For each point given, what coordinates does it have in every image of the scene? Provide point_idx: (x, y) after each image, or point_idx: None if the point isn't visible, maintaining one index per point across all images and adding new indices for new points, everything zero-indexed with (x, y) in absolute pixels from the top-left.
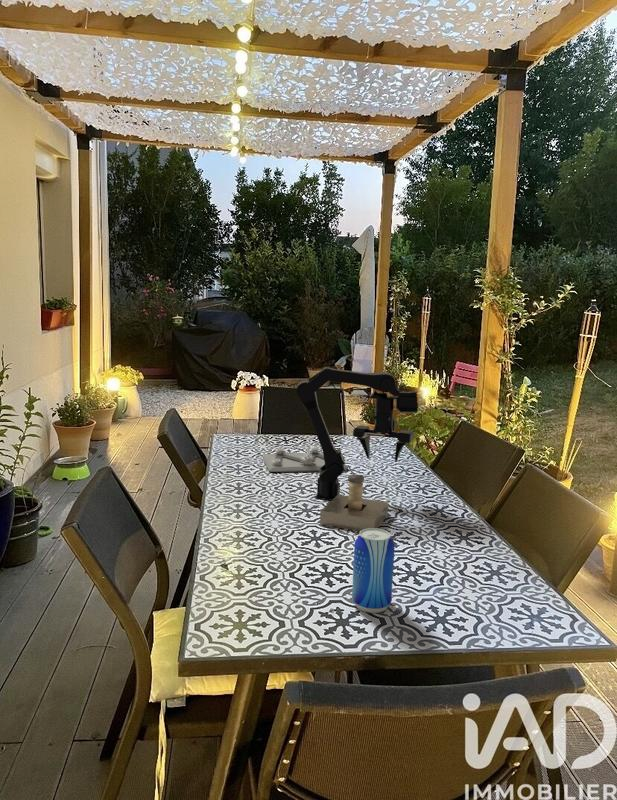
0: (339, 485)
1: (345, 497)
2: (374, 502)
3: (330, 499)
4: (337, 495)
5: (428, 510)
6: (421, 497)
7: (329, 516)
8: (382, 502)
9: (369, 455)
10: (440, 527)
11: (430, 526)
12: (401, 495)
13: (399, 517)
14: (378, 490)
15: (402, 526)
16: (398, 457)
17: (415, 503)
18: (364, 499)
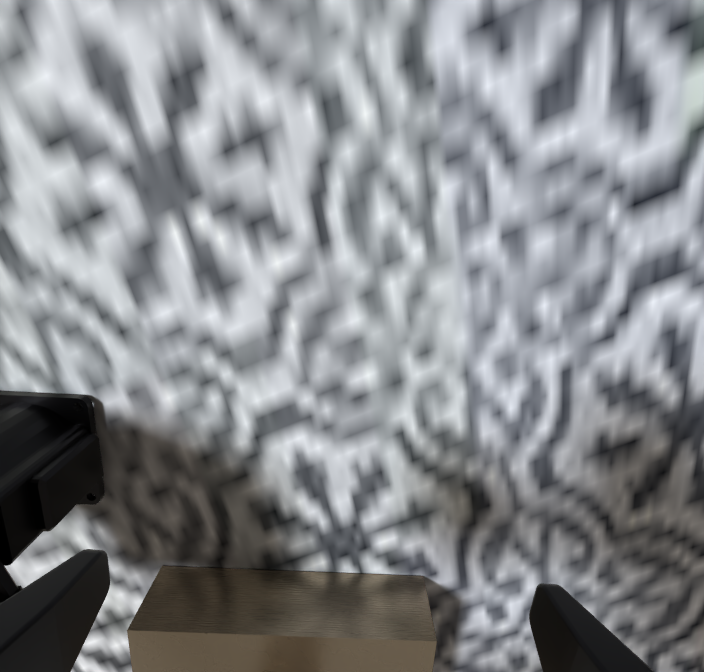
0: (54, 487)
1: (186, 653)
2: (361, 667)
3: (82, 502)
4: (130, 640)
5: (629, 444)
6: (600, 221)
7: None
8: (404, 654)
9: (80, 588)
10: (667, 625)
11: (623, 629)
12: (461, 233)
13: (481, 583)
14: (287, 183)
15: (502, 665)
16: (613, 648)
17: (558, 358)
18: (297, 647)
